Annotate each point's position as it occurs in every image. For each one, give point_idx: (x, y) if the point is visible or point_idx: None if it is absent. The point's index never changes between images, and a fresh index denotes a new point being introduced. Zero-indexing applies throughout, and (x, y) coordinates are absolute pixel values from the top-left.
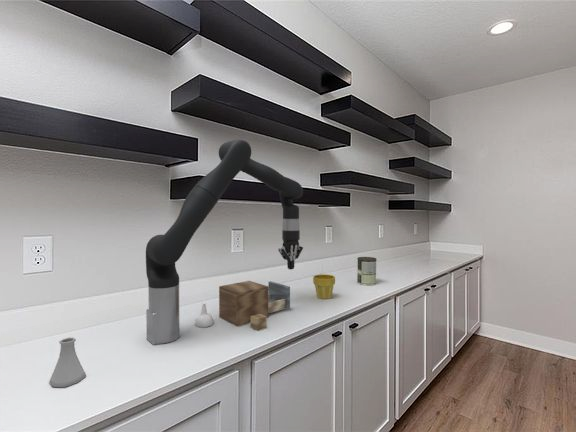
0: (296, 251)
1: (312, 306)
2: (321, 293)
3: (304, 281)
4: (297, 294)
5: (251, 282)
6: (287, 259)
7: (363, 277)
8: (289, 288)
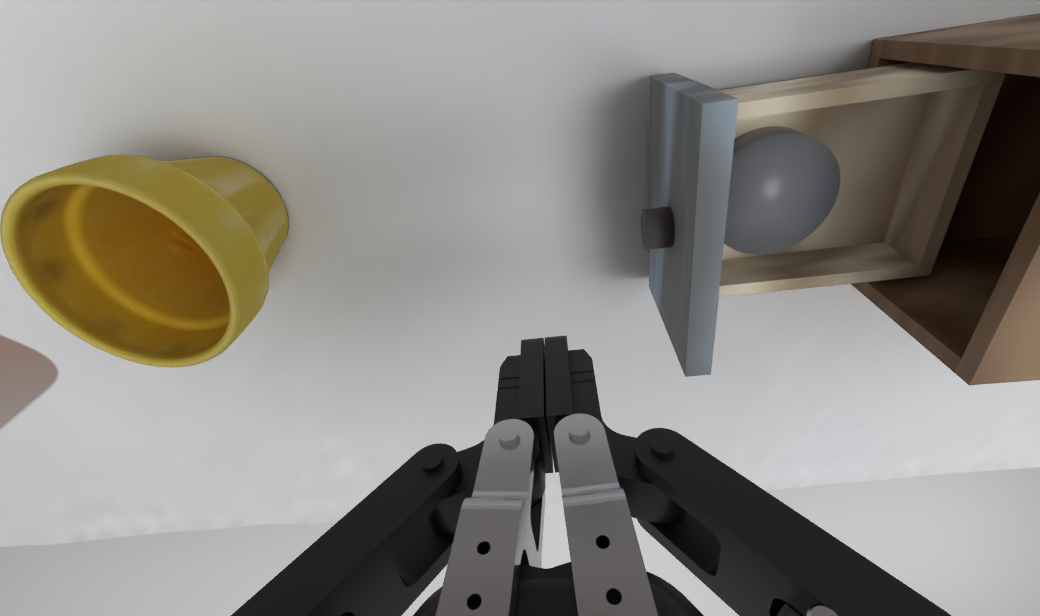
0: (447, 566)
1: (432, 67)
2: (257, 192)
3: (230, 494)
4: (386, 341)
5: (1033, 321)
6: (679, 435)
7: None
8: (705, 100)
